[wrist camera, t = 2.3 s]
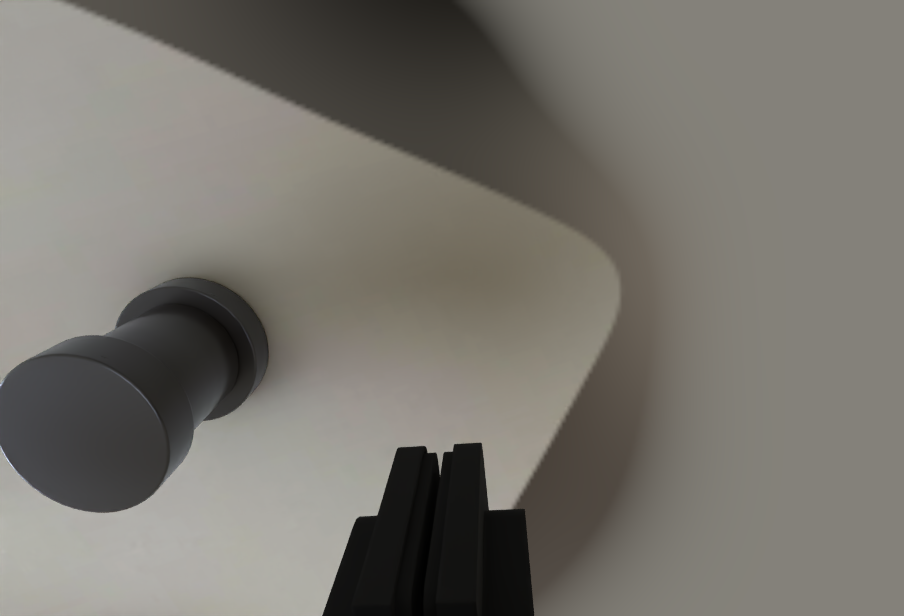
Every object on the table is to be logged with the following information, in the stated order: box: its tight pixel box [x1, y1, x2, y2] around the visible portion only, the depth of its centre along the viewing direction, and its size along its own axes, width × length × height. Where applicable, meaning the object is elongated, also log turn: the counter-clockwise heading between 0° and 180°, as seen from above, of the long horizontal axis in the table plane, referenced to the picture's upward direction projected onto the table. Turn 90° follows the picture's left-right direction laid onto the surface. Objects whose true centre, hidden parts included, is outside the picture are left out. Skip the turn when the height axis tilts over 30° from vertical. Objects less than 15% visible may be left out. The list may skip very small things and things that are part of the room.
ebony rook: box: [0, 278, 268, 513], centre depth 18 cm, size 5×5×7 cm
